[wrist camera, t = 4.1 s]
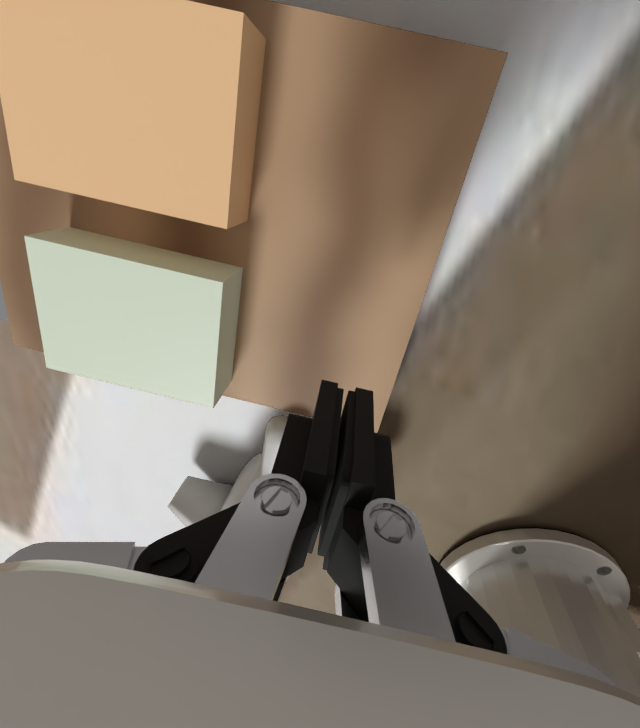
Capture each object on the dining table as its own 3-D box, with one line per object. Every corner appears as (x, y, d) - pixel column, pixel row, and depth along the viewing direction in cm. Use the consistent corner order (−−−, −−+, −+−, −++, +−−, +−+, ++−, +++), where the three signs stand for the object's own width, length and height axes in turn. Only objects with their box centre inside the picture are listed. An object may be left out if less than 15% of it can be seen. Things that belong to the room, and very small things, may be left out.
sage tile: (242, 267, 17) (222, 282, 15) (231, 381, 20) (213, 408, 17) (69, 226, 17) (23, 235, 15) (83, 345, 20) (46, 367, 18)
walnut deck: (487, 70, 15) (508, 53, 12) (376, 406, 22) (377, 432, 20) (-9, -39, 15) (-75, -75, 13) (48, 327, 23) (13, 344, 20)
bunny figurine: (129, 547, 25) (249, 440, 17) (170, 486, 29) (281, 377, 21) (242, 617, 27) (397, 549, 19) (266, 550, 31) (400, 472, 23)
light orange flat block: (266, 38, 13) (243, 12, 11) (247, 220, 16) (227, 229, 14) (42, -11, 13) (-24, -47, 11) (64, 178, 16) (14, 179, 14)
